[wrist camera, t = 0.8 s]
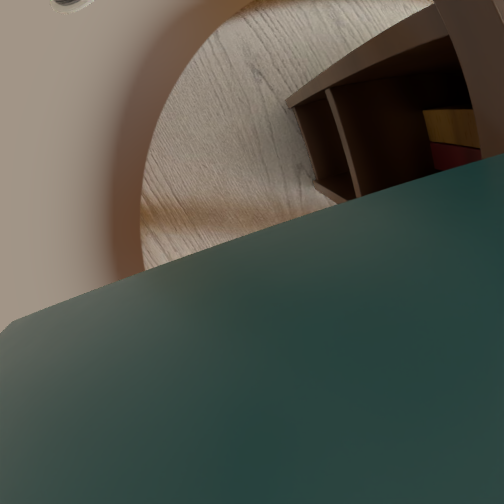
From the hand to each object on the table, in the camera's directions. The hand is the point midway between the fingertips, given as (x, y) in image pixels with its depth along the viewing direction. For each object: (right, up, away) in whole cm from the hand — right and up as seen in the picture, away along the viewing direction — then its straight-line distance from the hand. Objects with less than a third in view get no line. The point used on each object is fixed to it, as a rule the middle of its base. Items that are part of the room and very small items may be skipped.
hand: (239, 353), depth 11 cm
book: (+9, +5, -8) cm, 13 cm away
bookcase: (+18, +22, +21) cm, 35 cm away
